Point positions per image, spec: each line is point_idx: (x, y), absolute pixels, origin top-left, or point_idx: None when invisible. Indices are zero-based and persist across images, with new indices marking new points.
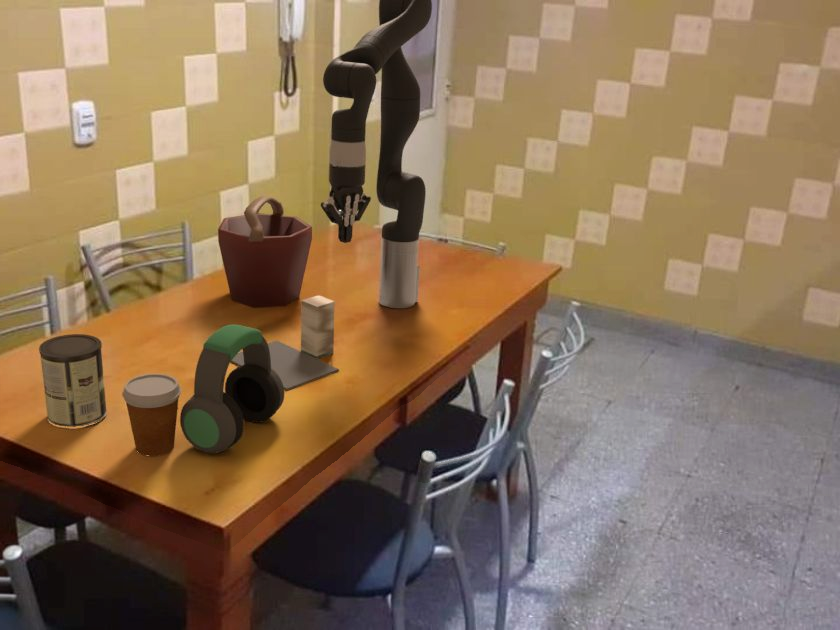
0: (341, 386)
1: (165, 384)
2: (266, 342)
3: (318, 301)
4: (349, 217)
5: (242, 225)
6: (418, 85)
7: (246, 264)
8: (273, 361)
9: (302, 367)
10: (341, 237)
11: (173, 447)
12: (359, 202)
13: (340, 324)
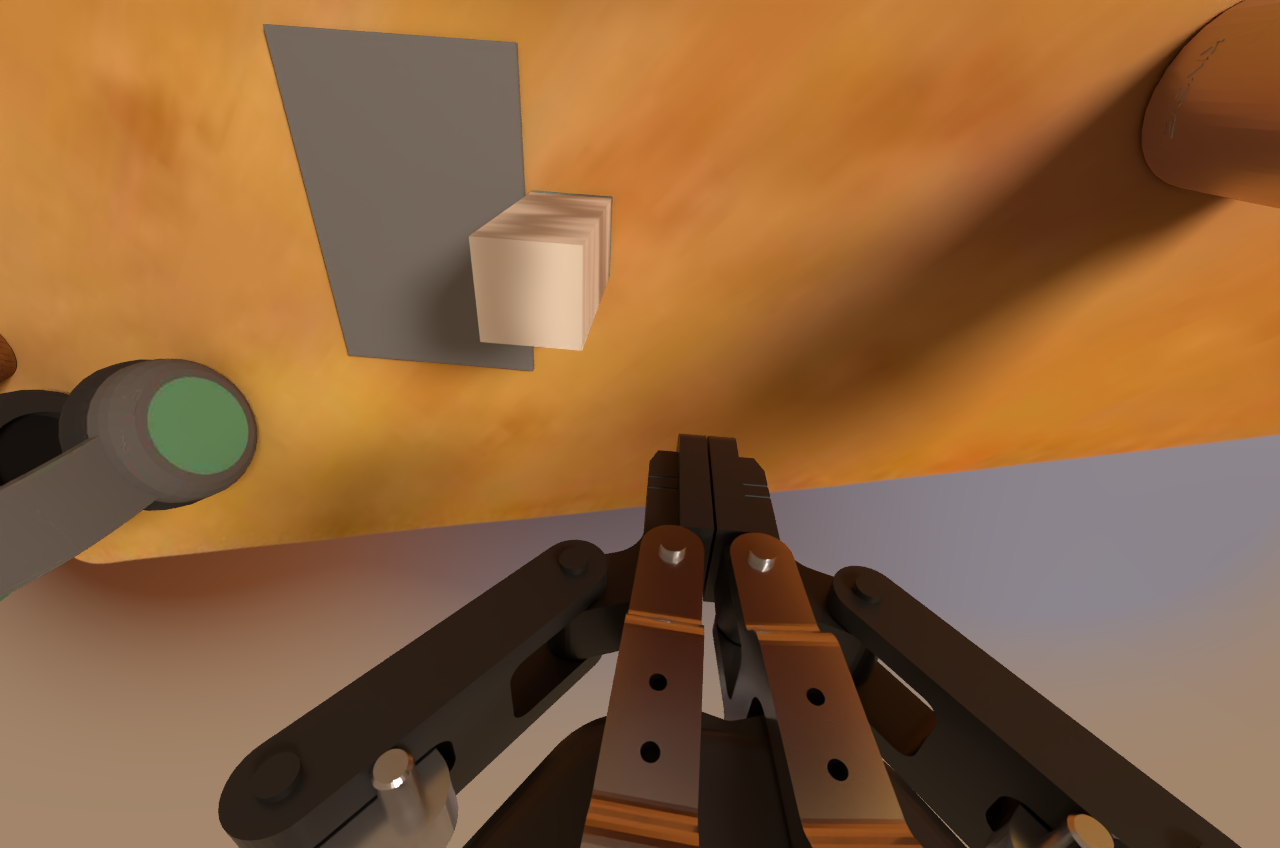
0: (481, 426)
1: None
2: (54, 568)
3: (525, 302)
4: (723, 669)
5: None
6: None
7: None
8: (402, 194)
9: (455, 294)
10: (646, 497)
11: (13, 372)
12: (994, 834)
13: (839, 98)
